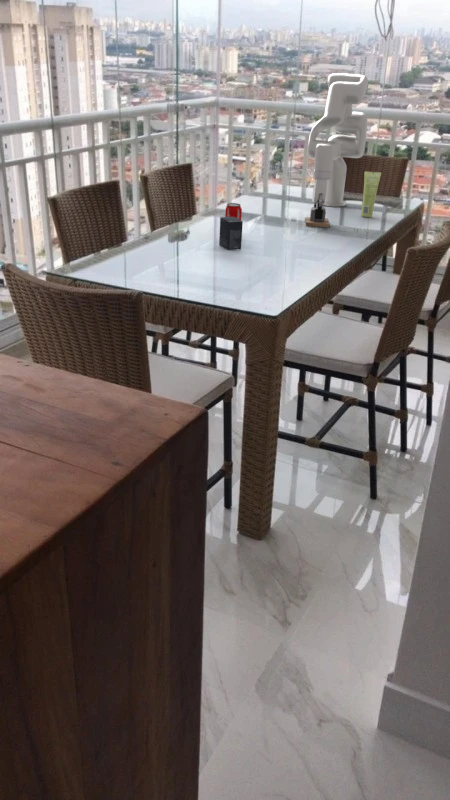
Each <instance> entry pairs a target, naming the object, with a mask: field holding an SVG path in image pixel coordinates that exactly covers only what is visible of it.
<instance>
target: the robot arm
mask: <svg viewBox="0 0 450 800" xmlns="http://www.w3.org/2000/svg"><path fill="white" fill-rule="evenodd" d="M368 85H369V81H368V77H367V76H366V75H364V74H359V73H358V74H357V73H341V72H335V73H334V72H333V73H331V74H329V75H328V76H327V87H328V93H327V97H326V101H325V108H324V113H323V116H322V117H321V118H320V119H319V120H317V122H316V123H315V124H314V125H313V126H312V128H311V130H310V131H309V136H308V142H307V145H306V155H307V156H308V157H309V158H310V159H313V160H314V161H313V162H314V163H313V171H312V179H314V184H313V191H312V199H311V200H312V203H313V207H316V209H315V219H322V216H323V208H324V206H326V207H331V208H332V207H333V208H338V207H339V208H341V207H345V206H346V204H347V202H346V201H344V193H345V184H346V179H347V178H346V177H347V169H348V168H347V167H348V166H347V164H346V162H345V160H344V158H350V159H359V158H362V157H363V156H364V154H365V150H366V140H367V130H368V116H367V114H366V113H365V112H362V111H353V105H361V103H362V101H363V100H364V98H365V95H366V93H367V91H368ZM330 128H331V129H332V131H333V132H335V133H339V134H333V135H331V136H330V137H328V139H327V140H323V139H321V140H320V139H317V137H318V135H319V134H320V133H322V132H323V131H325V130H327V129H330ZM345 134H346V135H345ZM348 134H350V135H348Z"/></svg>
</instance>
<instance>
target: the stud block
mask: <svg viewBox="0 0 450 800" xmlns="http://www.w3.org/2000/svg"><path fill="white" fill-rule="evenodd" d="M304 223H305V227H315V228H316V227H317V228H318V227H319V228H330V226H331V225H330V224H331V223H330V220H329V218H326V217H325V222H313V221H310V216H308V217H307V216H305V217H304Z"/></svg>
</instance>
